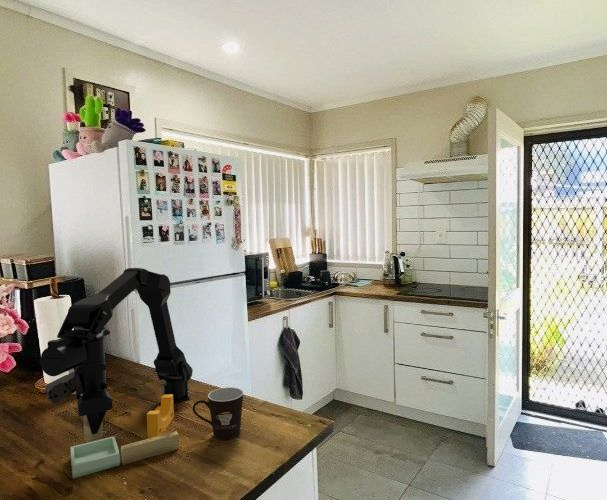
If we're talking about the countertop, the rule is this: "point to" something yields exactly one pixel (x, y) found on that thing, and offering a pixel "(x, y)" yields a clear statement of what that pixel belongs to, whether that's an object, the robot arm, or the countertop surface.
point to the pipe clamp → (160, 417)
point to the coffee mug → (224, 412)
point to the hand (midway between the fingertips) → (93, 430)
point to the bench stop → (149, 447)
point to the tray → (94, 456)
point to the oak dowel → (87, 431)
